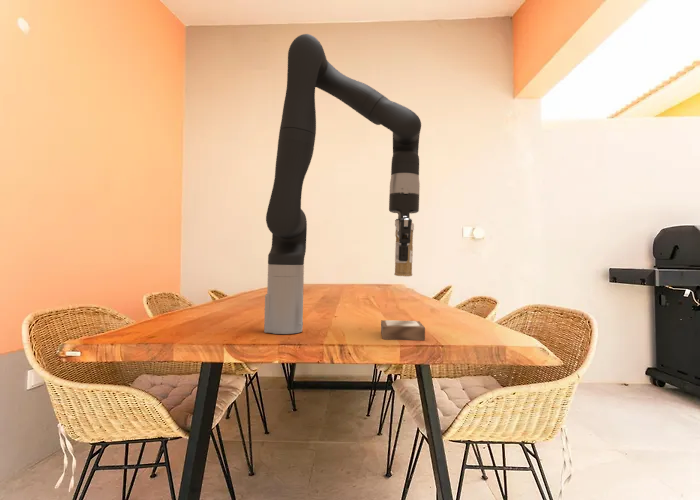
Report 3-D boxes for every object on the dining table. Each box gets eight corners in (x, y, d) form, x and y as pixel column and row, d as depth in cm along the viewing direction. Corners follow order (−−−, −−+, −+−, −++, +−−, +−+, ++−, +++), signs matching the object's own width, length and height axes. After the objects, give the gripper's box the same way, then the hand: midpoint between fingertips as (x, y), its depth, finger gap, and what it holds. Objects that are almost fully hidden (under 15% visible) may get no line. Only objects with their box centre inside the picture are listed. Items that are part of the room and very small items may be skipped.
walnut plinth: (382, 339, 98) (383, 325, 98) (380, 331, 108) (381, 319, 108) (424, 340, 98) (425, 326, 98) (419, 332, 108) (419, 320, 108)
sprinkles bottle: (415, 276, 103) (417, 223, 103) (402, 276, 100) (404, 221, 100) (403, 275, 106) (405, 223, 107) (390, 275, 104) (392, 222, 104)
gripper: (387, 197, 111) (385, 260, 110) (391, 188, 97) (389, 260, 96) (415, 198, 111) (413, 261, 110) (423, 189, 96) (421, 261, 96)
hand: (402, 260), depth 103 cm, fingers closed on sprinkles bottle, 4 cm apart
